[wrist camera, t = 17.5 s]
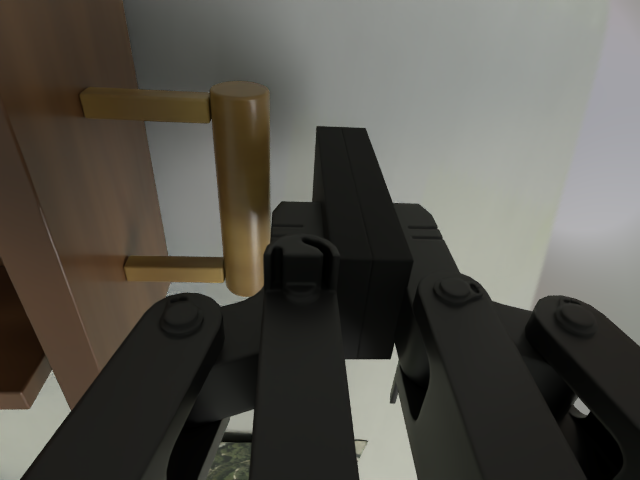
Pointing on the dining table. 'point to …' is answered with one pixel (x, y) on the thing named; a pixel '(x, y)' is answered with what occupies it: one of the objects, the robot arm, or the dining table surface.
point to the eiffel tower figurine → (243, 460)
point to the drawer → (103, 193)
